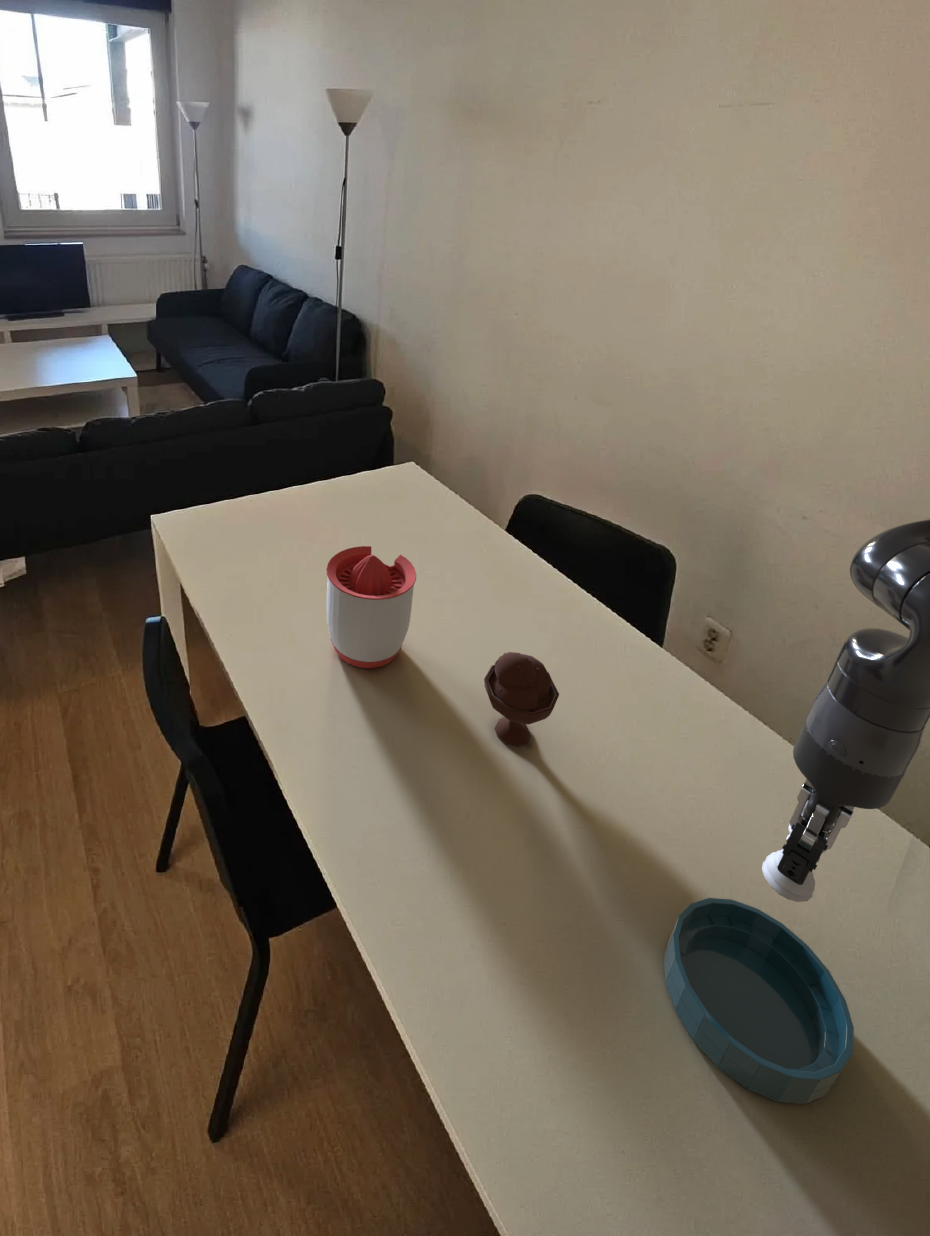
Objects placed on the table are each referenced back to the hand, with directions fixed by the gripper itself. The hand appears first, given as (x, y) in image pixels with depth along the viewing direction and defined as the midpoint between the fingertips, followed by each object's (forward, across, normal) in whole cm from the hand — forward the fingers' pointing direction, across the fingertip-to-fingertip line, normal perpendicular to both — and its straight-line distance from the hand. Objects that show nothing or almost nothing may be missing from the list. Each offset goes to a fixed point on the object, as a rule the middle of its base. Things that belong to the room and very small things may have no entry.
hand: (796, 862), depth 66 cm
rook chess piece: (+3, 0, 0) cm, 3 cm away
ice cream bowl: (+19, +9, +36) cm, 42 cm away
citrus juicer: (+19, +5, +65) cm, 68 cm away
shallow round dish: (+19, -3, -1) cm, 19 cm away
